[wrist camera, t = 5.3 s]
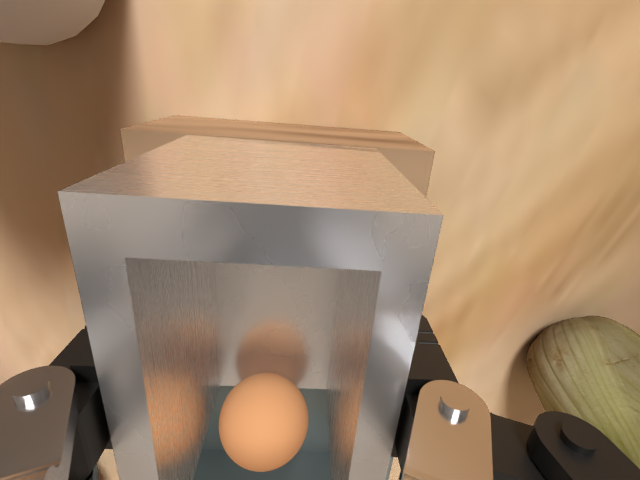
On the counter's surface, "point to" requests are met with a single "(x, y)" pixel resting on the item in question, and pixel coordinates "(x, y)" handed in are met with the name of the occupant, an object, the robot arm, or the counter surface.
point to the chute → (249, 290)
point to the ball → (263, 422)
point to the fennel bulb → (591, 376)
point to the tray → (296, 475)
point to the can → (45, 20)
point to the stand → (285, 140)
